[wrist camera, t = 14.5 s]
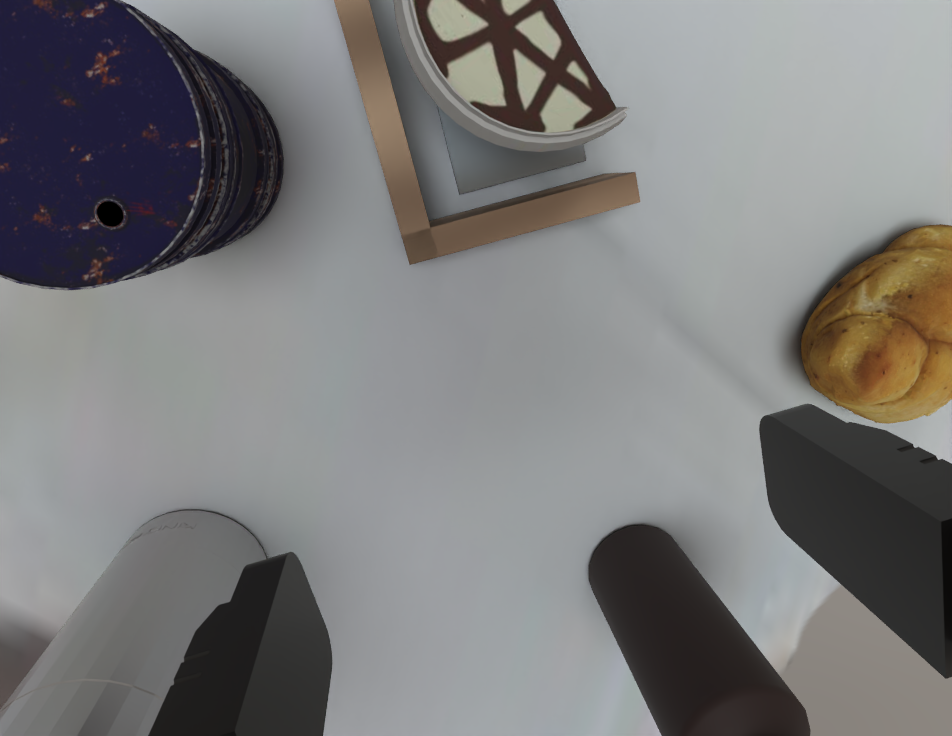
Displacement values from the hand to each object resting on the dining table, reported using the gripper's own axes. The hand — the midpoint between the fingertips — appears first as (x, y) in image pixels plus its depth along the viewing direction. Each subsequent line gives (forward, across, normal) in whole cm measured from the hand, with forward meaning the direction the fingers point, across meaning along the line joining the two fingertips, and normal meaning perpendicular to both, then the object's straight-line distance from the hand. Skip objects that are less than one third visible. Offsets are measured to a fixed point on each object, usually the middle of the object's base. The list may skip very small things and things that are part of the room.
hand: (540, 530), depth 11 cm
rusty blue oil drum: (+28, +11, -10) cm, 32 cm away
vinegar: (+28, -8, +23) cm, 37 cm away
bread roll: (+28, -27, +10) cm, 40 cm away
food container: (+28, -4, -10) cm, 30 cm away
